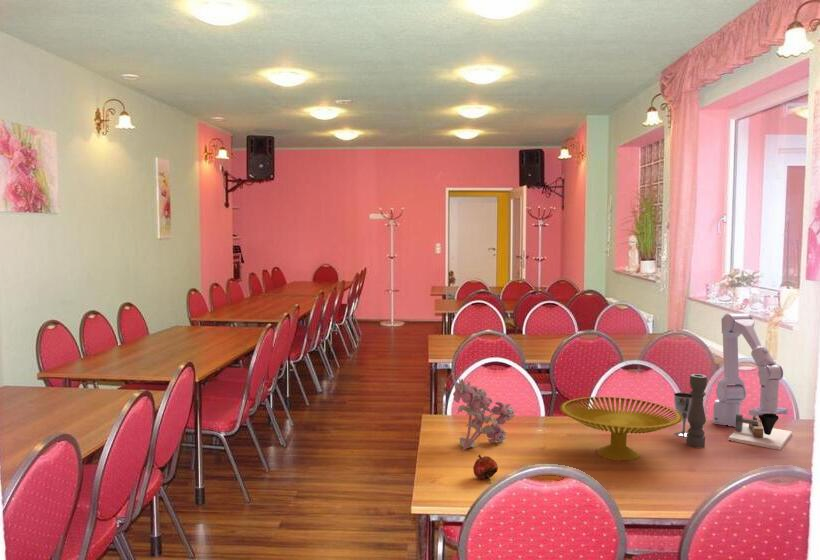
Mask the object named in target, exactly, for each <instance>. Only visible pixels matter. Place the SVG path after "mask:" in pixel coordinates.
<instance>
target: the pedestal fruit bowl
mask: <svg viewBox="0 0 820 560" xmlns="http://www.w3.org/2000/svg"><path fill="white" fill-rule="evenodd" d="M609 398H610V399H609ZM604 399H605V400H604ZM600 401H601V402H600ZM605 401H606V402H605ZM596 402H597V403H596ZM615 402H616V403H615ZM635 402H636V403H635ZM588 403H589V404H588ZM610 403H611V404H610ZM640 403H641V404H640ZM593 404H594V405H593ZM606 404H607V405H606ZM615 404H616V407H615ZM624 404H625V407H624ZM629 404H630V406H629ZM639 404H640V405H639ZM645 404H646V405H645ZM644 405H645V406H644ZM633 407H634V408H633ZM658 407H659V408H658ZM628 408H629V409H628ZM559 410H560V411H561V413H563V414H564V415H565V416H567V417H569V418H571V419H572V420H574V421H575V422H576V421H577V422H579V424H582V425H584V426H586V427H590V428H591V429H595V430H601V432H602V431H603V432H604V431H605V432H609V433H610V444H608V445H606V446H603V447H600V448H598V449H597V450H596V453H597V454H598V455H599V456H600V457H602V458H604V459H609V460H612V461H620V460H630V461H634V459H635V460H638V459H639V458H640V454H639V452H637V451H636V450H634V449H633V448H630V447H629V446H627V437H628V435H627V434H629V433H630V434H635V435H637V434H647V433H653V432H657V431H659V430H663V429H666V428H670V427H673V426H675V425H677V424H680V422H682V417H683V416H682V415H680V414H681V413H678V412H677V411H676V409H674V408H672V407H670V406H667V405H663V404H662V403H660V404H659V403H658V402H653V401H648V400H644V399H637V398H630V397H629V398H627V397H621V396H620V397H617V396H588V397H587V396H586V397H579V398H571V399H569V400H565V401H564V402H563V403H561V404H560V405H559ZM637 458H638V459H637Z"/></svg>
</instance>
